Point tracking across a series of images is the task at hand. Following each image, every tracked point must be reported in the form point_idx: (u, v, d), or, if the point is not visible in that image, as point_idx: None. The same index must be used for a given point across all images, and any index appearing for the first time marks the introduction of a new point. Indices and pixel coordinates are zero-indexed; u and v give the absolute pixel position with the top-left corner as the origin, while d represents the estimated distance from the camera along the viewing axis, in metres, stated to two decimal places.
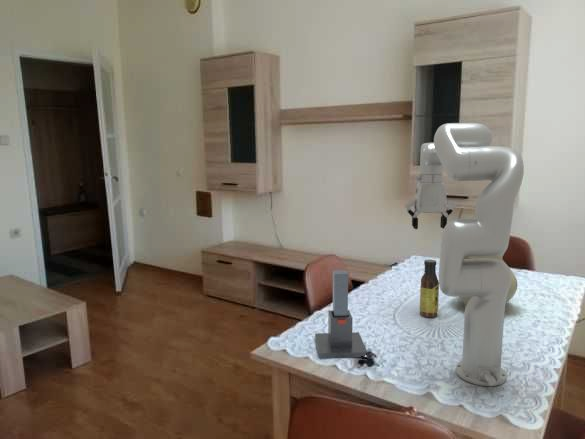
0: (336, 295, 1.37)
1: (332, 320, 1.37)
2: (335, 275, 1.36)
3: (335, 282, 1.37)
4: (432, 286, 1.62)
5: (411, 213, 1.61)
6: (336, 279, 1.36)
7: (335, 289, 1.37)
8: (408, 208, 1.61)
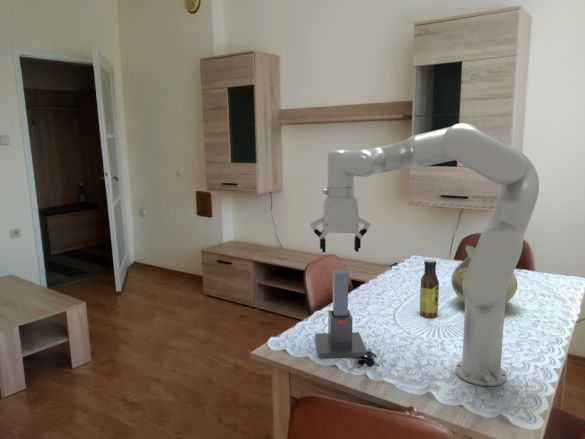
0: (336, 295, 1.37)
1: (332, 320, 1.37)
2: (335, 275, 1.36)
3: (335, 282, 1.37)
4: (432, 286, 1.62)
5: (317, 233, 1.35)
6: (336, 279, 1.36)
7: (335, 289, 1.37)
8: (314, 227, 1.35)
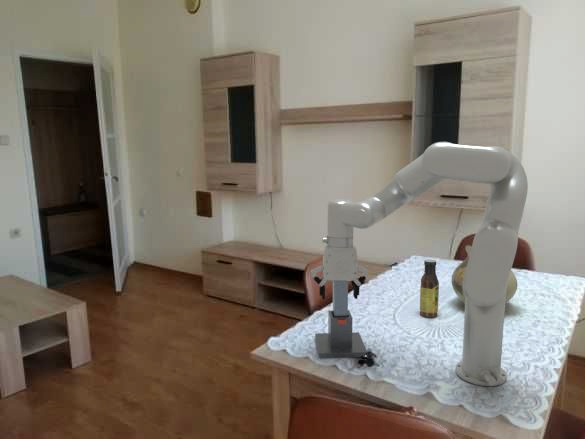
0: (336, 295, 1.37)
1: (332, 320, 1.37)
2: None
3: (335, 282, 1.37)
4: (432, 286, 1.62)
5: (317, 281, 1.38)
6: None
7: (335, 289, 1.37)
8: (314, 275, 1.37)
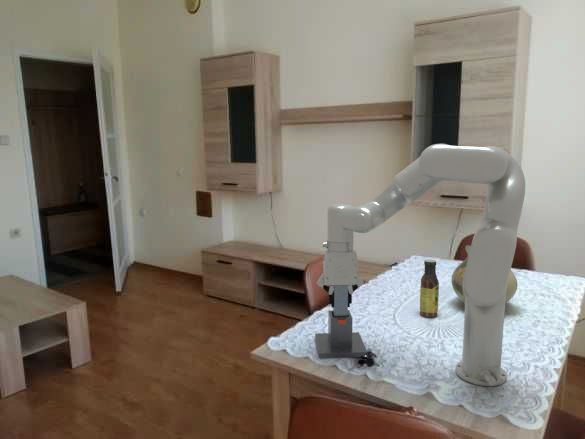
0: (336, 296, 1.37)
1: (332, 320, 1.37)
2: None
3: None
4: (432, 286, 1.62)
5: (326, 289, 1.38)
6: None
7: (335, 289, 1.37)
8: (321, 285, 1.38)
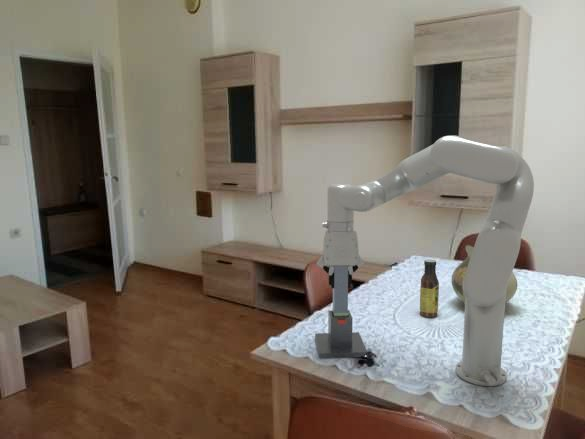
0: (336, 276, 1.36)
1: (332, 320, 1.37)
2: None
3: None
4: (432, 286, 1.62)
5: (326, 270, 1.37)
6: None
7: (335, 270, 1.36)
8: (321, 265, 1.37)
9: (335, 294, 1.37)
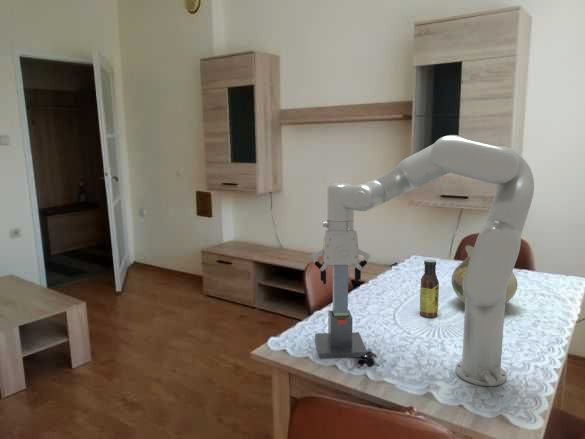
0: (336, 276, 1.36)
1: (332, 320, 1.37)
2: None
3: None
4: (432, 286, 1.62)
5: (318, 265, 1.37)
6: None
7: (335, 269, 1.36)
8: (315, 259, 1.37)
9: (335, 294, 1.37)
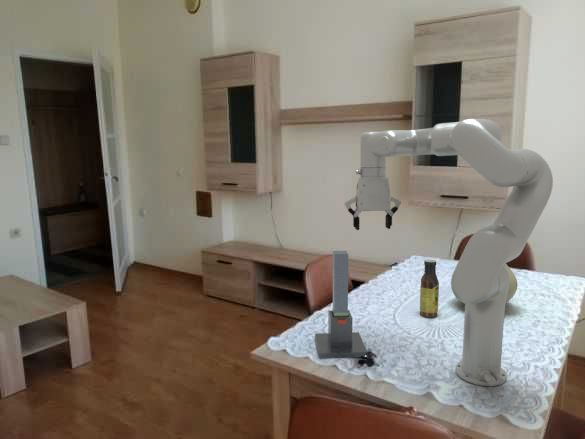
0: (336, 276, 1.36)
1: (332, 320, 1.37)
2: (335, 255, 1.35)
3: (335, 262, 1.36)
4: (432, 286, 1.62)
5: (351, 212, 1.42)
6: (336, 259, 1.35)
7: (335, 269, 1.36)
8: (348, 206, 1.42)
9: (335, 294, 1.37)
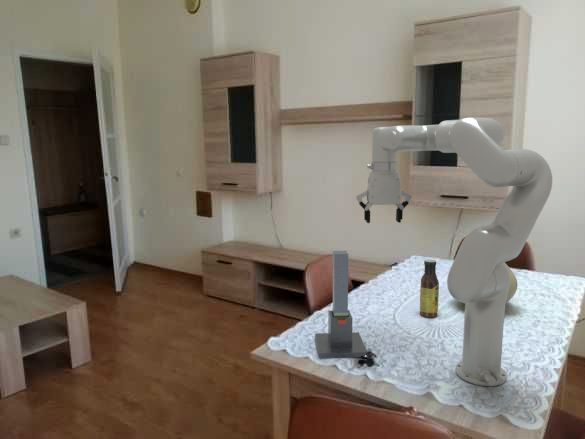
0: (336, 276, 1.36)
1: (332, 320, 1.37)
2: (335, 255, 1.35)
3: (335, 262, 1.36)
4: (432, 286, 1.62)
5: (363, 205, 1.45)
6: (336, 259, 1.35)
7: (335, 269, 1.36)
8: (359, 200, 1.45)
9: (335, 294, 1.37)
